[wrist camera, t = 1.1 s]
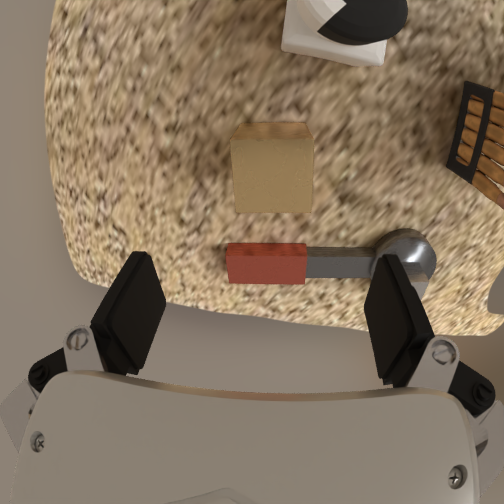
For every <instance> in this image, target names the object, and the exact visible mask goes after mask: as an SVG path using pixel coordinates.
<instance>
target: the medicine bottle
mask: <svg viewBox="0 0 504 504" xmlns="http://www.w3.org/2000/svg"><path fill="white" fill-rule="evenodd" d="M407 15H408V7H407V1H406V0H287V6H286V13H285V21H284V28H283V36H282V43H281V50H282V51H284V52H289V53H295V54H301V55H306V56H312V57H317V58H322V59H326V60H331V61H335V62H339V63H343V64H347V65H351V66H354V67H359V66H381V65H383V63H384V56H385V50H386V43H387V39H389V38H391V37H393V36H394V35H396V34H397V33H398V32H399V31H400V30H401V29H402V28H403V26H404V24H405V22H406V19H407Z"/></svg>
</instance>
